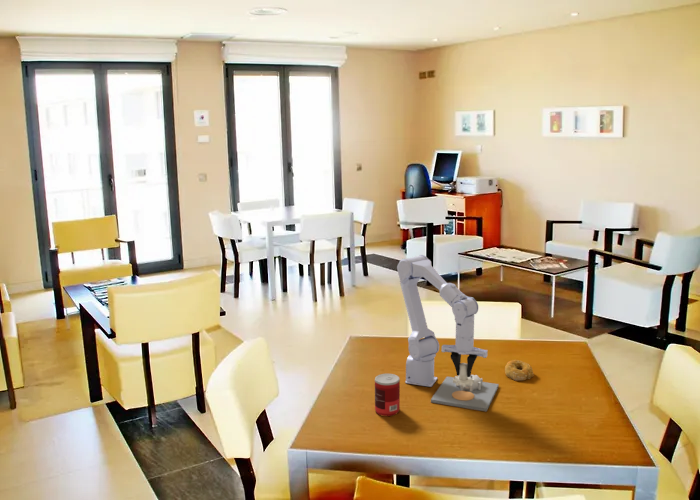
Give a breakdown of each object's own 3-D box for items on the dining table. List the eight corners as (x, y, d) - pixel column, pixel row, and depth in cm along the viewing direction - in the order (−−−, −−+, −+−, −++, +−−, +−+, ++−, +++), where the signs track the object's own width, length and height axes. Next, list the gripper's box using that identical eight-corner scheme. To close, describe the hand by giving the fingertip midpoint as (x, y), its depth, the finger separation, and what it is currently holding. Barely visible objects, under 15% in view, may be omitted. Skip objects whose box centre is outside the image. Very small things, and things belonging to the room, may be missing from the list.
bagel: (502, 380, 226) (503, 367, 225) (506, 368, 236) (507, 356, 235) (531, 384, 222) (532, 371, 221) (534, 372, 232) (535, 360, 231)
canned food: (402, 407, 206) (402, 374, 203) (395, 418, 198) (395, 384, 196) (379, 404, 208) (379, 372, 206) (371, 414, 201) (371, 381, 198)
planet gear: (450, 384, 208) (451, 366, 207) (456, 377, 214) (457, 359, 213) (470, 387, 205) (470, 369, 204) (475, 380, 211) (476, 362, 210)
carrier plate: (430, 402, 209) (431, 389, 208) (446, 379, 227) (447, 367, 226) (486, 411, 202) (487, 398, 201) (498, 386, 220) (498, 374, 219)
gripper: (439, 336, 206) (438, 376, 209) (484, 342, 200) (483, 383, 203) (445, 329, 212) (444, 368, 215) (489, 335, 206) (488, 374, 209)
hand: (463, 375), depth 209 cm, fingers closed on planet gear, 3 cm apart
